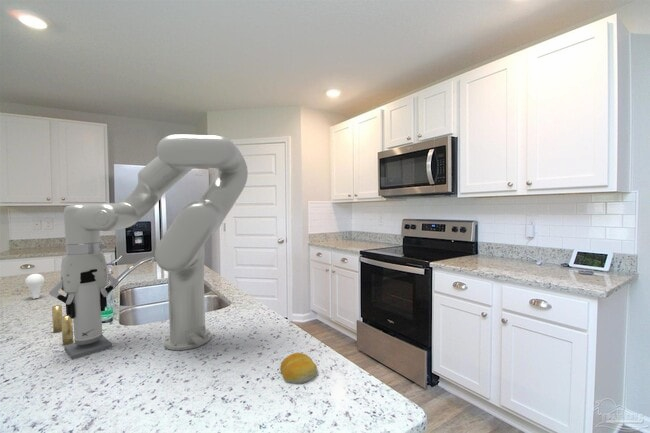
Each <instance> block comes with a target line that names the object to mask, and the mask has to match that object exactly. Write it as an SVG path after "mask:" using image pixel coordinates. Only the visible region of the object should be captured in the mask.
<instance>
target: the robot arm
mask: <svg viewBox="0 0 650 433" xmlns="http://www.w3.org/2000/svg"><path fill="white" fill-rule="evenodd" d="M156 154H157V156H156V157H155V158H153V159H152V160H151V161H150V162H148V163H147V164H146V165H145V166H144V167H142V168H141V169H140V170H139V171H138V173H137V184H136V186H135V188H134V189H133V191H131V193H129V194H128V196H126V197H125V198H124V199H123V200H121V201H120V202H112V203H109V202H107V203H99V204H71V205H67V206H65V207H64V209H63V215H64V216H63V218H64V219H63V220H64V234H65V254H66V255H63V256H62V258H61V264H60V281H59V282H58V283H56V284H55V285H54V286H53V288H51V289H50V290H49V291H48V294H49V295H50V297H53V298H55V299H58V301H60V302H63V303H64V304H65V314H66V315H67V316H69V317H70V318H71V319H72V320H73V318H75V308H74V303H73V301H72V300H73V298H74V296H75V293H76V292H78V288H79V286H80V285H79V284H80V281H81V280H80V274H81V273H83V272H88V271H90V270H93V269H97V272H93V273H92V274H93V275H94V276H95V278H94V279H95V280H96V284H97V287H98V288H99V290H100V300H101V312H106V308H107V307H108V303H107V302H108V300H107V298H108V296H109V294H110V293H111V292H112V291H113V290H114V288H115V287H116V286H117V285H118V284H119V283H120V282H119V279H118V278H115V277H114V276H112V275H110V274H109V270H108V265H107V260H106V256H105V254H104V252H102V250H103V249H105V248H107V243H103V242H101V232H112V231H117V230H123V229H128V228H130V227H132V226H134V225H135V224H136V223H138V222H139V221H140V220H142V218H144V217H145V216H146V215H147V214H148V213H149V212H150V211H152V210H153V208H154V207H155V206H156V205H157V203H158V202H159V201H160V200H161V199H162V197H163V196H164V194H166V192H168V191H169V190H170V189H171V188H172V187H173V186H175V185H176V184H177V183H178V182H179V181H181V179H182V178H184V177H185V176H186V175H187V174H188V173H189V172H191V171H192V170H193V169H194V168H199V169H200V168H205V169H206V168H207V169H209V168H211V169H217V175H216V177H214V180H212V182H211V183H210V184H209V186H208V187H207V189H206V191H205V192H204V193H203V194H202V196H201V198H199V200H197V201H192V202H190V203H188V204H186V205H185V206H184V207H183V208H181V210H180V212H178V214H177V215H176V217H175V218H174V220H173V222H172V223H171V224H170V226H169V227H168V229H166V231H165V233H164V235H163V236H162V237H161V238H160V240H159V242H158V244H157V245H156V247H155V251H154V258H155V261H156V264H157V265H158V267H159V268H160V269H161V270H163V271H166V272H167V276H168V278H167V287H168V289H167V290H168V291H167V292H168V317H169V318H168V319H169V335H168V336H167V337H165V339H164V340H163V345H164V347H165V348H166V349H168V350H172V351H186V350H191V349H194V348H195V349H196V348H198V347H201V346H203V345H205V344H207V343H208V342H209V341H210V340H211V339H212V332H211V331H210V330H209V329H207V328H206V327H207V326H206V306H205V304H206V303H205V301H206V300H205V299H206V298H205V259H206V258H205V257H206V251H205V250H206V249H205V244H206V242H207V241H208V239H209V238H210V237H211V235H212V234H213V233H215V232H216V231H218V229H220V227H221V226H222V224H223V222H224V220H225V219H226V218H227V216H228V214H229V213H230V211H231V210H232V208H233V207H234V206H235V204H236V202H237V200H238V199H239V197H240V195H241V194H242V192H243V191H244V188H245V187H246V184H247V182H248V173H249V172H248V166H247V163H246V160H245V158H244V156H243V153H242V152H241V151H240V149H239V148H238V147H237V146H236V145H235V143H234V142H233V141H232V140H231V139H230V138H227V137H226V136H221V135H214V134H213V135H212V134H210V135H209V134H208V135H206V134H181V133H179V134H178V133H177V134H174V133H173V134H169V135H166V136H165V137H163V138H162V139H160V141H159V142H158V144H157V146H156ZM109 281H110V283H109ZM60 290H62V291H63V292H64V293H65V295H63V294H61V293H60V292H59V291H60Z"/></svg>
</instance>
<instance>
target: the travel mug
mask: <svg viewBox="0 0 650 433" xmlns="http://www.w3.org/2000/svg"><path fill="white" fill-rule="evenodd" d="M93 272H97V269H93V270H90V271H88V272H83V273H81V274H80V280H81V281H80V284H79V285H80V286H79V288H78V292H76V293H75V296H74V298H73V300H72V301H73V303H74V308H75V318H73V319H72V324H73V341H74V343H75V344H77V345H84V344H90V343H93V342H96V341H98V340H100V339H101V338H102V337H103V336H104V334H103V324H102V322H103V320H102V318H103V317H102V311H101V300H100V290H99V288H98V287H97V284H96V280H95V279H94V278H95V276H94V275H93V274H92V273H93Z"/></svg>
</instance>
